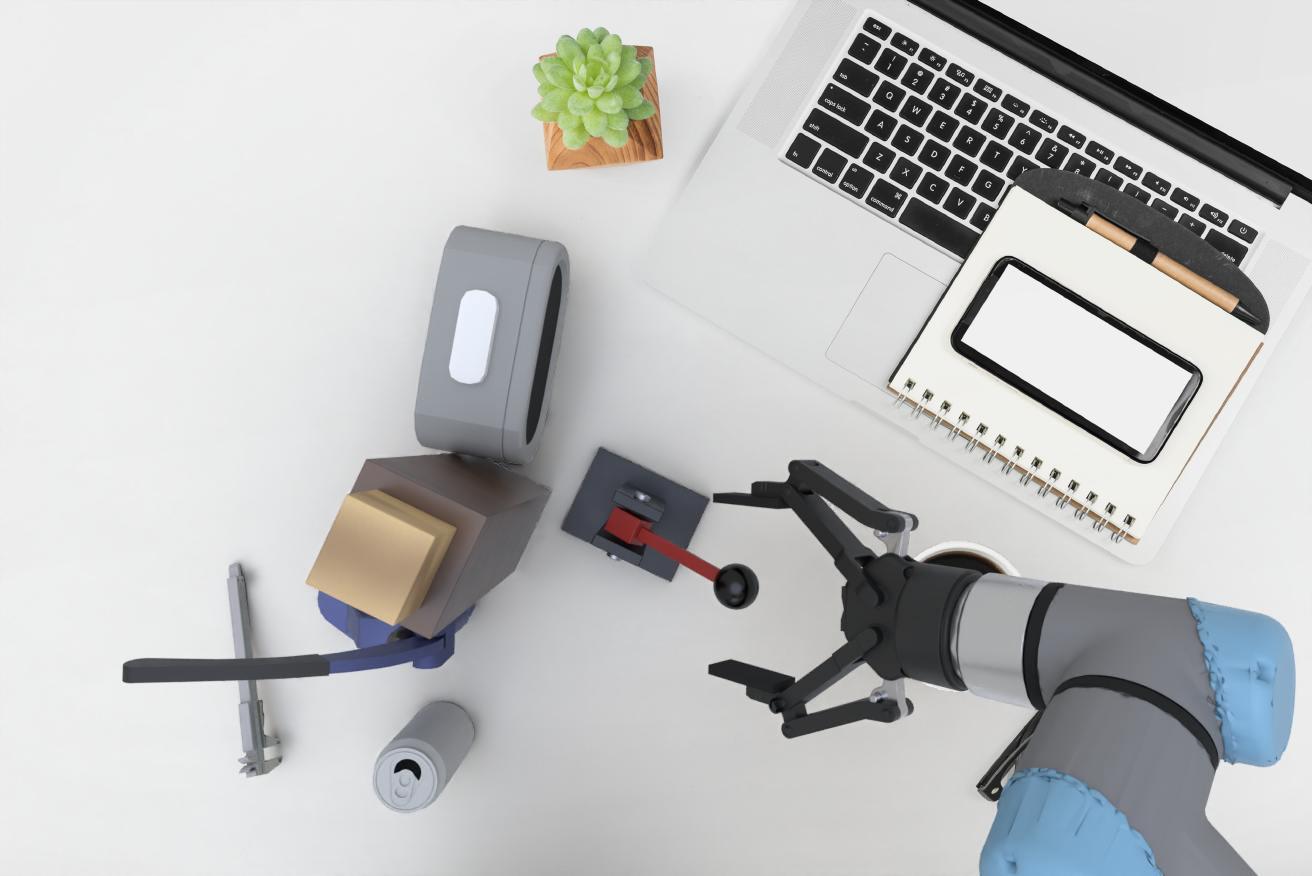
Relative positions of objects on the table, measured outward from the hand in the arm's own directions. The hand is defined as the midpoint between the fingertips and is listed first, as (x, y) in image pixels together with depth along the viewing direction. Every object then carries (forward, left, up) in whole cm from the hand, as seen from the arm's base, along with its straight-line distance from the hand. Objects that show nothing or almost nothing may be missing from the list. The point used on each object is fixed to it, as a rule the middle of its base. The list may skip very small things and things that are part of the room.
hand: (721, 581), depth 67 cm
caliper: (-30, +37, -16) cm, 50 cm away
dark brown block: (-6, +22, -16) cm, 27 cm away
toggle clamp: (0, +9, -16) cm, 18 cm away
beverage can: (-28, +17, -16) cm, 36 cm away
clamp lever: (0, +3, -2) cm, 4 cm away
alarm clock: (+9, +27, -16) cm, 32 cm away
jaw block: (-6, +22, +12) cm, 26 cm away
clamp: (-18, +27, -16) cm, 36 cm away
